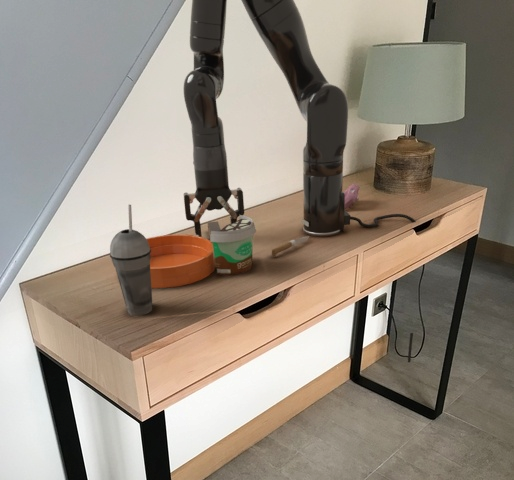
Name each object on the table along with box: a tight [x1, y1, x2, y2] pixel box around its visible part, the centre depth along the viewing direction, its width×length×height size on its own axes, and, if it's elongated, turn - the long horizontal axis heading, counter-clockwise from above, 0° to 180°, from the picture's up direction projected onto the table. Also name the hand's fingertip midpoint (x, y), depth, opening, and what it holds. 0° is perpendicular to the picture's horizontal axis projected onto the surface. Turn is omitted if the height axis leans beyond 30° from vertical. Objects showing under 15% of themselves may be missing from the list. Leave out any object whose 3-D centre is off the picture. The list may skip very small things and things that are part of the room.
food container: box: [209, 215, 257, 277], centre depth 120 cm, size 12×6×10 cm, turn 151°
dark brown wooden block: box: [207, 220, 222, 236], centre depth 139 cm, size 5×15×3 cm, turn 10°
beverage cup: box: [109, 204, 153, 316], centre depth 103 cm, size 7×7×20 cm
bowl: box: [146, 234, 216, 289], centre depth 124 cm, size 20×20×4 cm
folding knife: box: [271, 235, 310, 258], centre depth 132 cm, size 14×2×2 cm, turn 138°
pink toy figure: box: [343, 183, 360, 210], centre depth 158 cm, size 10×5×7 cm, turn 168°
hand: (216, 234), depth 139 cm, fingers open, 7 cm apart
